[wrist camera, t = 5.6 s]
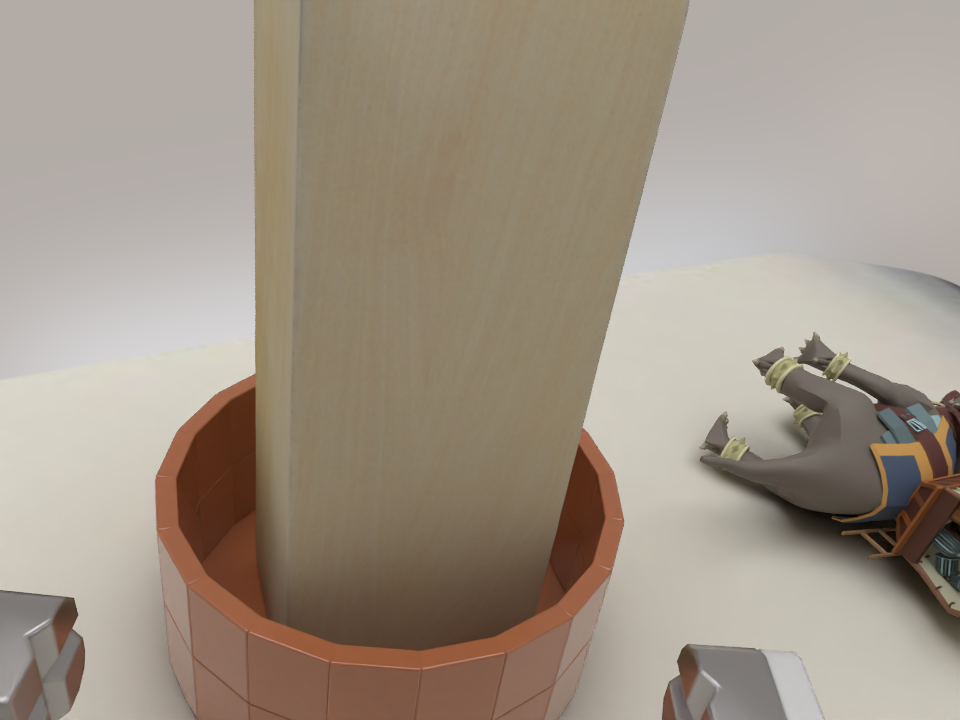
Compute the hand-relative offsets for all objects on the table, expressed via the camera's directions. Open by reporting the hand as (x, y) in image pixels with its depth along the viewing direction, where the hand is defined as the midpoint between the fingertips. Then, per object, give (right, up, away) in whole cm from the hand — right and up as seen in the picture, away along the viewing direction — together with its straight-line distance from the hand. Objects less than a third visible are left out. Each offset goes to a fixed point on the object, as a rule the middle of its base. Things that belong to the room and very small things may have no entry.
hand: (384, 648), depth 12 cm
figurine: (+20, -4, +25) cm, 32 cm away
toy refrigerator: (-2, -4, +18) cm, 19 cm away
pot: (-2, -5, +18) cm, 19 cm away
